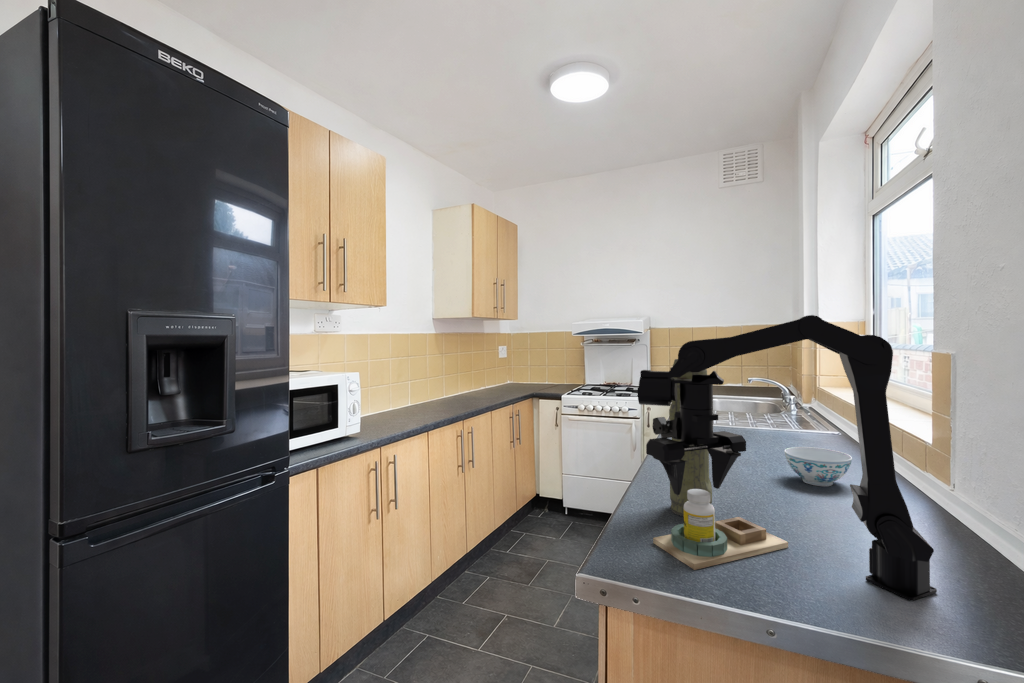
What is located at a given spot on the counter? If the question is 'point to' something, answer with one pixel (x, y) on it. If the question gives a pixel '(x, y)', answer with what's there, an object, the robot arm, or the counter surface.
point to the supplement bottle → (699, 516)
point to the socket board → (720, 543)
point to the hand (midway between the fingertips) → (696, 491)
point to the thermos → (690, 461)
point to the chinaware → (818, 464)
